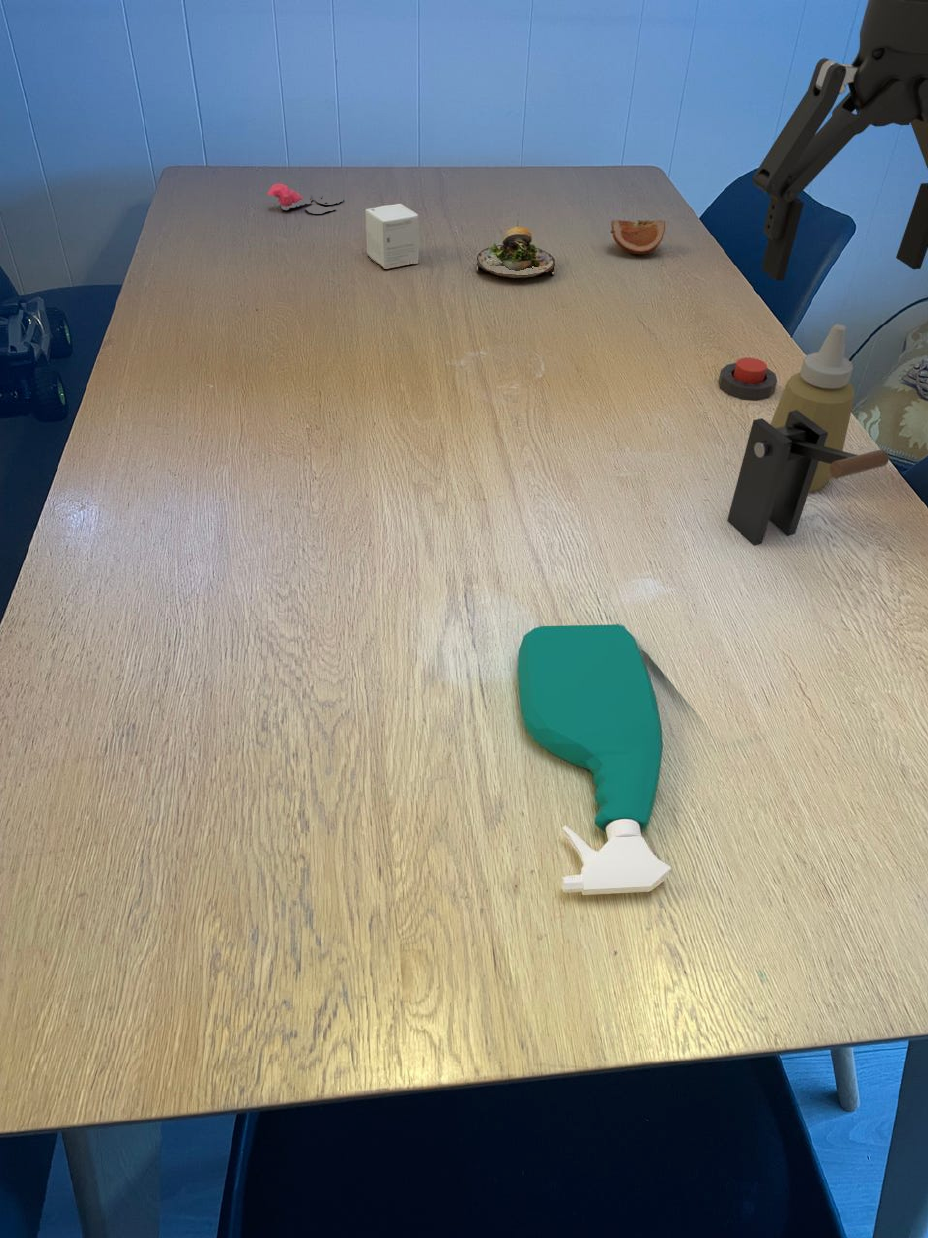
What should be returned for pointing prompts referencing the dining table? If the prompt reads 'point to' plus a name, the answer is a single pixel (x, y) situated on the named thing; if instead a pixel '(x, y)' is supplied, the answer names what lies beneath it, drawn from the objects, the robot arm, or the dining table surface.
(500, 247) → the burger
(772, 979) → the dining table surface
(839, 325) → the squeeze bottle
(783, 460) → the bracket
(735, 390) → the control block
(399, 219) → the product box
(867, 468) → the lever
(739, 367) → the button
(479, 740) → the dining table surface
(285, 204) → the pink fuzzy curved piece
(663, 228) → the fruit slice
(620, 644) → the spray bottle
